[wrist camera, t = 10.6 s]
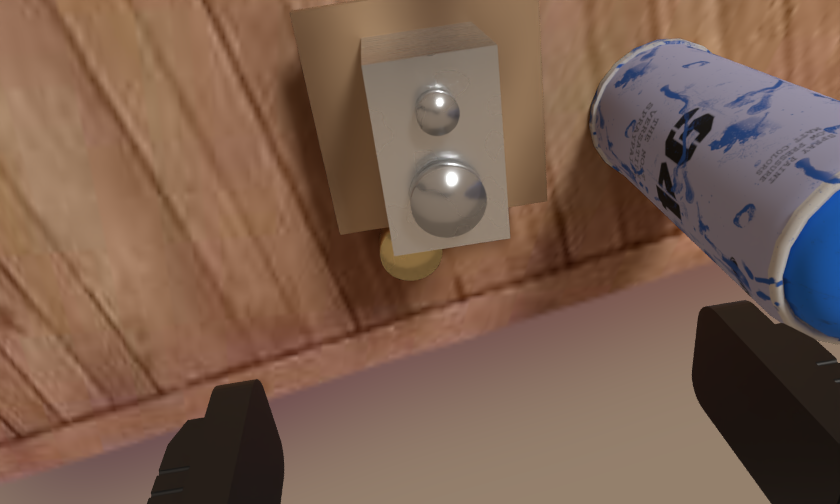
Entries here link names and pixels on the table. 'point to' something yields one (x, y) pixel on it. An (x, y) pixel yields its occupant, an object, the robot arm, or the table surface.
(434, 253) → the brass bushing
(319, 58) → the stand
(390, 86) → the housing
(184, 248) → the table surface
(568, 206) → the table surface
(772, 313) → the aerosol can
